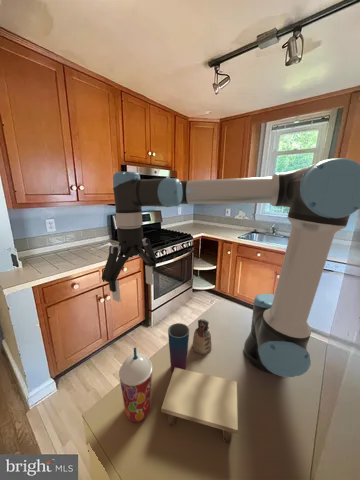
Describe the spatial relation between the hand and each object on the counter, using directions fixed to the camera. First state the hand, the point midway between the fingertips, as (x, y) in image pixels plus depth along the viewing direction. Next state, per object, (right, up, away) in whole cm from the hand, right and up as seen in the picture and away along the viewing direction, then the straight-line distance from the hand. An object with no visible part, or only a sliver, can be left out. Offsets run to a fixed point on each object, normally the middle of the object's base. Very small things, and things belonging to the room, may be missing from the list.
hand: (134, 291), depth 64 cm
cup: (+14, -27, +2) cm, 30 cm away
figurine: (+23, -25, +12) cm, 36 cm away
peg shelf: (+20, -30, -11) cm, 38 cm away
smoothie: (+3, -30, -10) cm, 32 cm away
